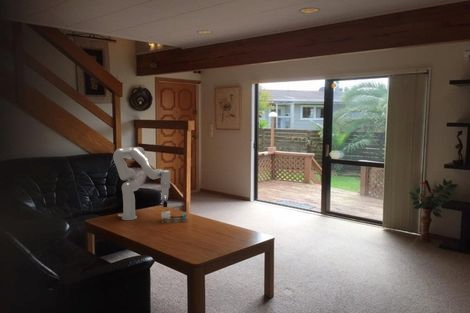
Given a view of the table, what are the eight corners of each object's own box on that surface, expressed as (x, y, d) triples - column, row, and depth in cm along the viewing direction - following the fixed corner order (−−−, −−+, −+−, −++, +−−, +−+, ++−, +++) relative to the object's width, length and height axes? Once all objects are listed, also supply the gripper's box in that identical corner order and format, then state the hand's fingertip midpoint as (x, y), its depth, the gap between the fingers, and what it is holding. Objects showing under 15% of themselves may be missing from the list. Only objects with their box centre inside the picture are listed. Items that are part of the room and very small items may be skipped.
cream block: (161, 220, 317) (161, 212, 316) (161, 218, 321) (161, 211, 320) (170, 219, 318) (170, 212, 317) (170, 218, 322) (170, 211, 322)
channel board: (161, 223, 313) (161, 216, 312) (161, 219, 325) (161, 213, 324) (186, 222, 316) (186, 215, 316) (185, 218, 328) (185, 212, 328)
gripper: (160, 183, 324) (160, 203, 326) (160, 187, 308) (160, 208, 309) (169, 183, 326) (169, 203, 328) (170, 187, 309) (169, 208, 311)
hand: (165, 205), depth 318 cm, fingers open, 9 cm apart
